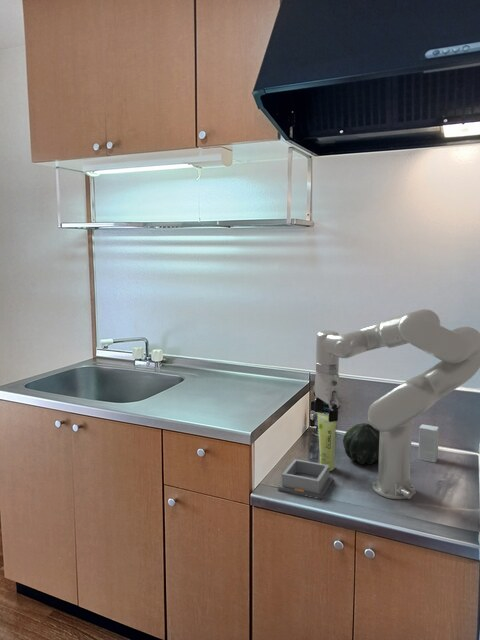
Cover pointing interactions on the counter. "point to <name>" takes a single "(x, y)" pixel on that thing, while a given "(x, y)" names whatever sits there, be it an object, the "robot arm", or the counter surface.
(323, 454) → the tube
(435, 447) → the skincare box
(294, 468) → the socket
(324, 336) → the robot arm
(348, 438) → the squash
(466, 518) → the counter surface
